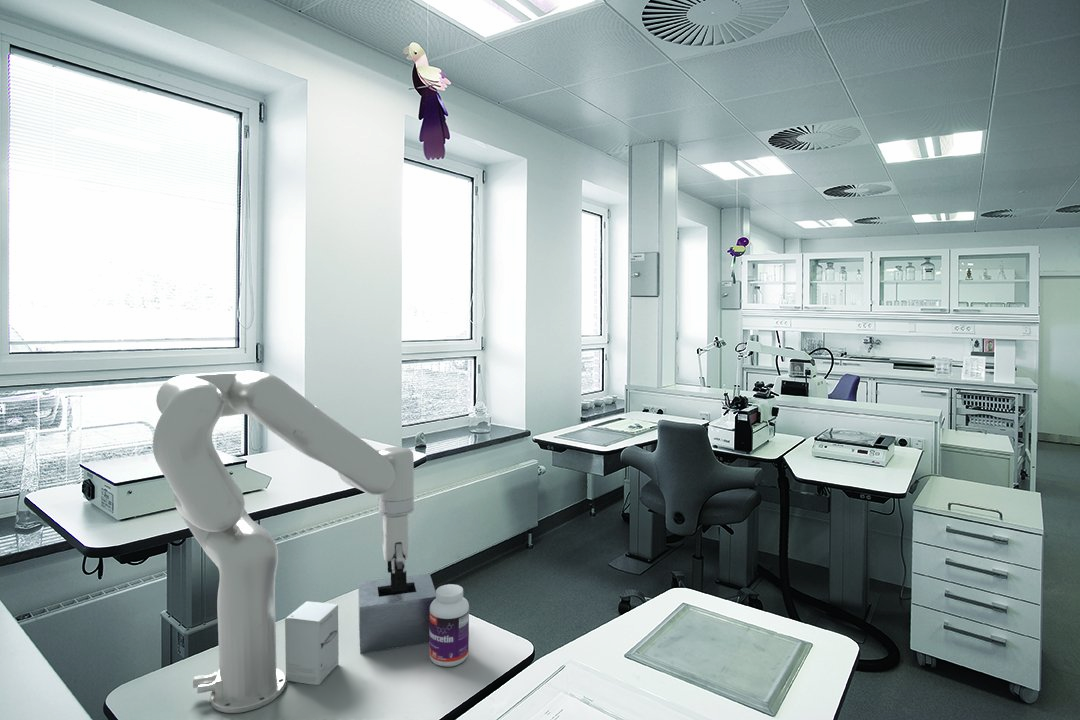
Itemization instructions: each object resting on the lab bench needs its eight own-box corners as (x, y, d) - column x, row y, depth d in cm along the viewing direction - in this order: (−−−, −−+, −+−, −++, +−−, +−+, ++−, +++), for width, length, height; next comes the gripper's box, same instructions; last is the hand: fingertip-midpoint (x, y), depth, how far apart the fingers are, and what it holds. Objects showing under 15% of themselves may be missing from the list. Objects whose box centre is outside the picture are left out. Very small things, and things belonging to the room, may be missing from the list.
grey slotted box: (360, 653, 123) (359, 607, 122) (358, 625, 134) (358, 582, 134) (437, 641, 128) (437, 596, 127) (429, 614, 140) (429, 573, 139)
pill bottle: (421, 662, 120) (420, 593, 119) (445, 643, 127) (445, 578, 126) (453, 673, 117) (453, 602, 116) (476, 653, 124) (476, 586, 123)
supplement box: (319, 686, 112) (318, 622, 111) (284, 681, 114) (283, 617, 113) (340, 664, 119) (339, 603, 118) (307, 659, 121) (306, 599, 120)
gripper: (376, 494, 136) (377, 567, 137) (380, 519, 120) (381, 600, 121) (409, 492, 139) (409, 563, 140) (418, 515, 122) (418, 595, 123)
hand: (396, 580), depth 130 cm, fingers open, 9 cm apart
